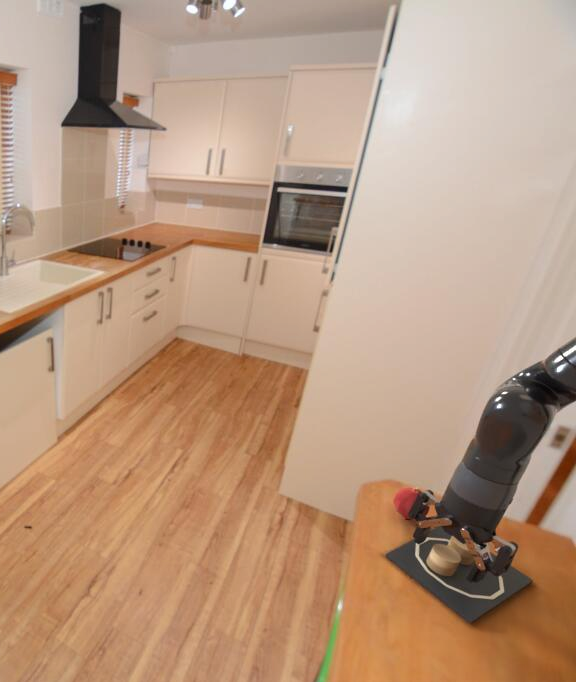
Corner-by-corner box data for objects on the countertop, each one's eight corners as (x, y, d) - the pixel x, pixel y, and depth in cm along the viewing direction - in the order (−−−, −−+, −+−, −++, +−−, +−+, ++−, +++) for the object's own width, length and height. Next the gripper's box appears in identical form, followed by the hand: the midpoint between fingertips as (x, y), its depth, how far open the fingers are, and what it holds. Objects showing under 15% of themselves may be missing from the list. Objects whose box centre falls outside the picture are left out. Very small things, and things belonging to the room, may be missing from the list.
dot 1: (445, 579, 80) (452, 566, 78) (421, 561, 83) (427, 548, 82) (458, 571, 81) (466, 557, 80) (434, 554, 84) (441, 540, 83)
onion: (392, 502, 97) (404, 473, 94) (425, 517, 93) (439, 487, 90) (385, 517, 93) (397, 487, 90) (419, 533, 90) (433, 503, 86)
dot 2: (464, 568, 82) (471, 554, 80) (440, 551, 85) (446, 537, 84) (477, 560, 83) (485, 547, 82) (453, 544, 87) (459, 530, 85)
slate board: (531, 583, 80) (533, 579, 80) (470, 624, 73) (472, 620, 73) (444, 525, 92) (446, 522, 91) (385, 556, 85) (386, 553, 85)
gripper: (419, 470, 79) (390, 537, 86) (520, 530, 67) (477, 602, 74) (445, 458, 82) (416, 524, 89) (547, 514, 70) (504, 585, 77)
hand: (444, 560), depth 81 cm, fingers open, 8 cm apart
